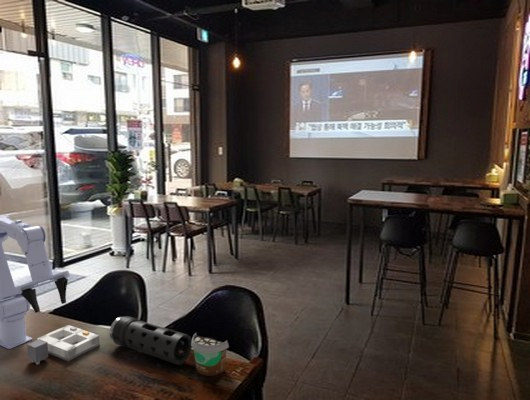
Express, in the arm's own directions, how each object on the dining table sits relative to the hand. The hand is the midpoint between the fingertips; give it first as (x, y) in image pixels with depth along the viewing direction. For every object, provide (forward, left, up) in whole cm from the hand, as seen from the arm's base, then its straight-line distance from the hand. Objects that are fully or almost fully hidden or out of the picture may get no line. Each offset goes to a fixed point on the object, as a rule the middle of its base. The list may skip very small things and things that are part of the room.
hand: (51, 307), depth 125 cm
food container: (+43, +20, -19) cm, 51 cm away
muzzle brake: (+21, +19, -19) cm, 34 cm away
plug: (-6, -1, -19) cm, 20 cm away
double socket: (-6, +9, -19) cm, 22 cm away
